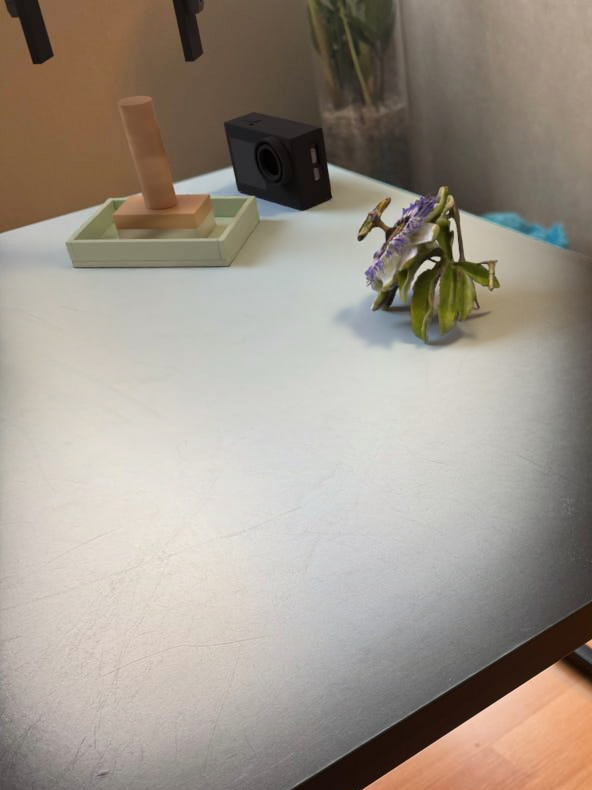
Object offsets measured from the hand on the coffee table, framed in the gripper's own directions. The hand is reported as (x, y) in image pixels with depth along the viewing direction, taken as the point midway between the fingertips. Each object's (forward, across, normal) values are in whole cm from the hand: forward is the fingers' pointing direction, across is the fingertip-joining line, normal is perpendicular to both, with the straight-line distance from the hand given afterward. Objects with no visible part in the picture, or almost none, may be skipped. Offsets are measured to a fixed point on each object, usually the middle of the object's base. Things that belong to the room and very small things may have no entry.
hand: (118, 59), depth 87 cm
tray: (+16, 0, 0) cm, 16 cm away
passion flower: (+16, -28, +15) cm, 36 cm away
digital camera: (+16, -8, -12) cm, 22 cm away
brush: (+15, 0, 0) cm, 15 cm away
